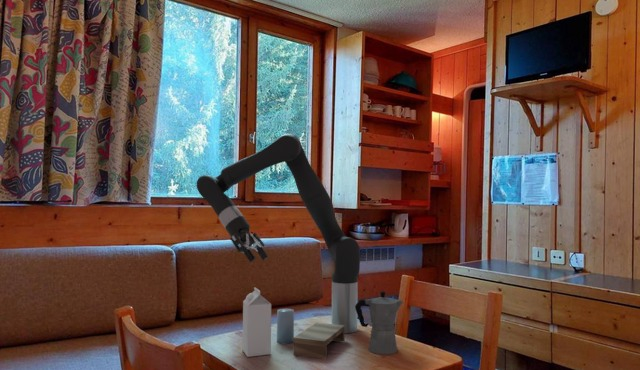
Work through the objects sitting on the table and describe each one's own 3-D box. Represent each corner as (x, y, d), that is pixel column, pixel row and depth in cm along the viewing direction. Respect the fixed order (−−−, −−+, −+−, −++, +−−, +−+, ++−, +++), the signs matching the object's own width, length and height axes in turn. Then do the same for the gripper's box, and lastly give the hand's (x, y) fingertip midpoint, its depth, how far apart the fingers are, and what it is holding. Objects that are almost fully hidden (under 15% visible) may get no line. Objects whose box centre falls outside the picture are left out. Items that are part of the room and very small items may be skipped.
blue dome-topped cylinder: (281, 338, 154) (281, 308, 154) (296, 339, 152) (296, 309, 152) (274, 342, 149) (274, 311, 149) (289, 344, 147) (289, 312, 147)
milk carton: (265, 348, 143) (265, 286, 144) (270, 354, 136) (271, 290, 137) (242, 350, 140) (243, 287, 141) (247, 357, 134) (248, 291, 135)
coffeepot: (397, 344, 147) (397, 288, 148) (408, 353, 138) (408, 293, 139) (351, 347, 144) (351, 289, 145) (359, 356, 135) (359, 295, 136)
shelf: (316, 337, 154) (316, 322, 155) (344, 340, 151) (344, 325, 151) (293, 354, 137) (293, 337, 137) (324, 358, 133) (325, 341, 133)
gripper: (230, 214, 152) (256, 254, 147) (252, 215, 165) (277, 251, 160) (214, 229, 153) (240, 268, 149) (237, 228, 167) (262, 264, 162)
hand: (259, 259), depth 154 cm, fingers open, 8 cm apart
